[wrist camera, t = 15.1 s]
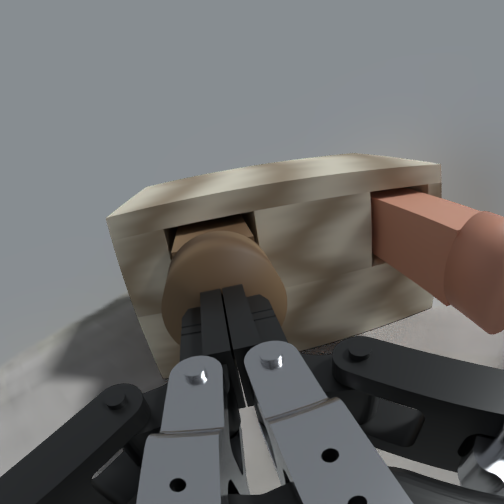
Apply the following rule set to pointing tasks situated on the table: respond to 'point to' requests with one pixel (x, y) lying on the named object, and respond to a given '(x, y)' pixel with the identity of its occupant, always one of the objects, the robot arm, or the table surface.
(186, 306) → the walnut plug
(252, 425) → the table surface
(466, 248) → the terracotta plug
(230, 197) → the socket block
